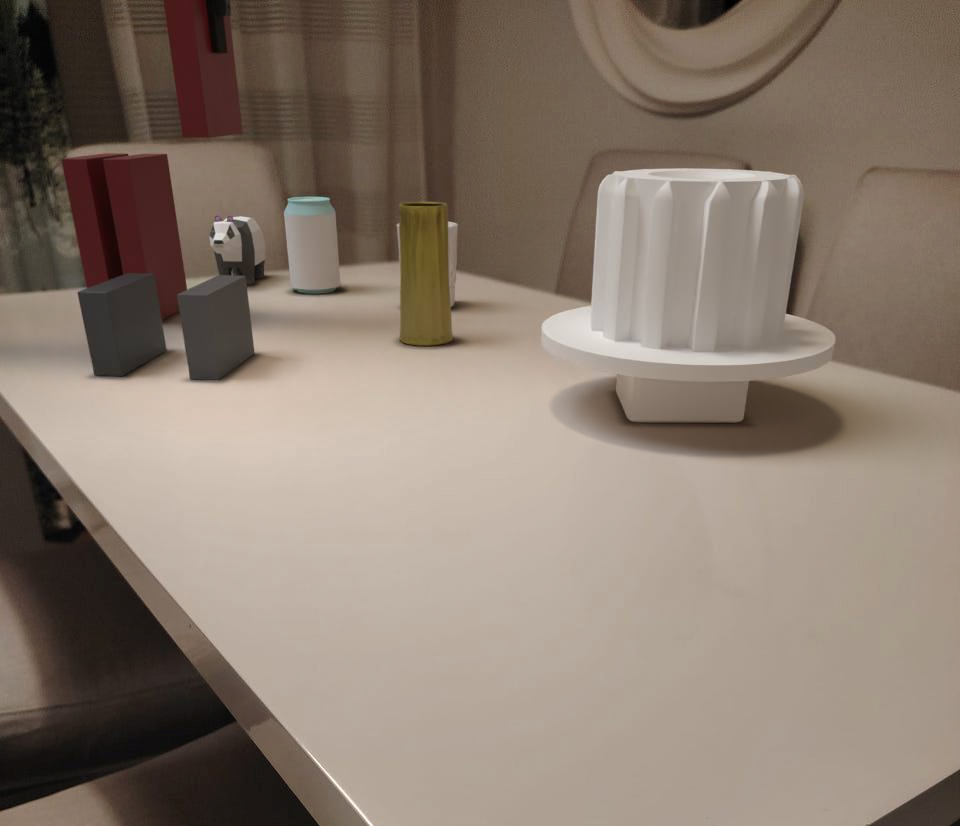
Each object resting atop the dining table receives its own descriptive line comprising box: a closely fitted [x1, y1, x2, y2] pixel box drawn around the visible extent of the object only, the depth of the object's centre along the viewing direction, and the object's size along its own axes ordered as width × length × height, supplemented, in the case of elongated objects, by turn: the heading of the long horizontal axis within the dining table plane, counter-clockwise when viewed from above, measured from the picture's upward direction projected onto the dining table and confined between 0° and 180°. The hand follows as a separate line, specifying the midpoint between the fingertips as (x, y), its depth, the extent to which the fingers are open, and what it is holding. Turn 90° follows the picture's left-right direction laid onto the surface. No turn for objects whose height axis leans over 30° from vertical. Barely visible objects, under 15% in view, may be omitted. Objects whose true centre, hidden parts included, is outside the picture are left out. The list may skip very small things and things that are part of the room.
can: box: [283, 196, 341, 295], centre depth 132 cm, size 7×7×12 cm
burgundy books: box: [60, 152, 188, 321], centre depth 116 cm, size 8×11×18 cm
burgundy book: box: [162, 0, 244, 139], centre depth 102 cm, size 3×11×18 cm, turn 173°
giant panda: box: [208, 215, 267, 286], centre depth 137 cm, size 15×6×10 cm, turn 176°
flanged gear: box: [540, 167, 836, 424], centre depth 80 cm, size 25×25×19 cm
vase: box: [398, 201, 454, 347], centre depth 104 cm, size 6×6×14 cm
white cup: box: [396, 221, 459, 308], centre depth 123 cm, size 8×8×10 cm
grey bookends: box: [77, 273, 256, 381], centre depth 96 cm, size 13×11×8 cm
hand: (203, 52), depth 103 cm, fingers closed on burgundy book, 3 cm apart
